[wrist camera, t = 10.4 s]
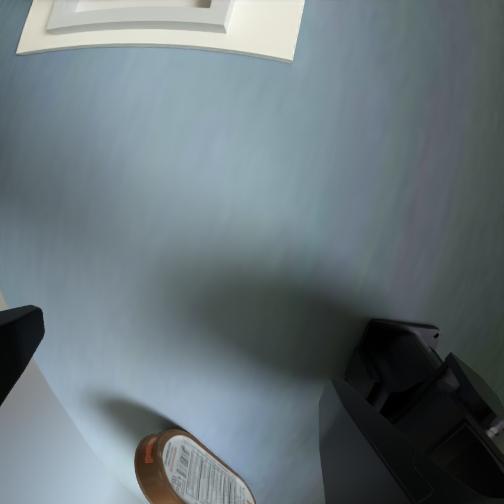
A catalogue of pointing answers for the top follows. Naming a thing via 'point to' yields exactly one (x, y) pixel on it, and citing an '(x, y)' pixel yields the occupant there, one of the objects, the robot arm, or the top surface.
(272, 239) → the top surface
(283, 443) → the top surface
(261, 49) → the charging cradle
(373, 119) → the top surface
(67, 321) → the top surface
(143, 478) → the tin
